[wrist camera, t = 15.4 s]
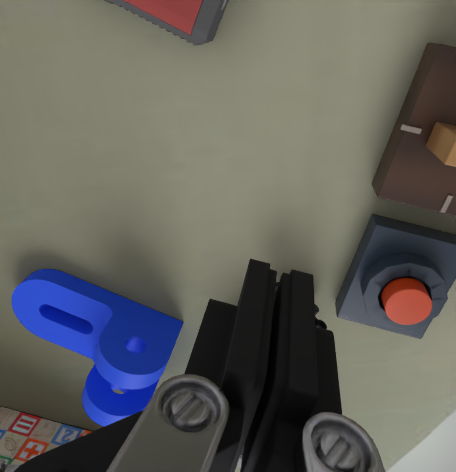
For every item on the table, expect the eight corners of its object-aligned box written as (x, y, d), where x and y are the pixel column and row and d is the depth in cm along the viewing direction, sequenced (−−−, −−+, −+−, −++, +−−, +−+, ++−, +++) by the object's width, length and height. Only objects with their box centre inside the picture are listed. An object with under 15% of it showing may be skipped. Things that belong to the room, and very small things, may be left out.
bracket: (183, 322, 44) (158, 386, 36) (161, 371, 48) (134, 438, 40) (28, 257, 44) (-33, 308, 36) (19, 312, 48) (-37, 369, 40)
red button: (390, 272, 34) (395, 284, 32) (434, 283, 33) (440, 295, 32) (374, 306, 35) (378, 318, 34) (415, 316, 35) (421, 329, 34)
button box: (372, 213, 35) (379, 234, 32) (463, 236, 35) (481, 259, 31) (335, 303, 40) (338, 329, 37) (415, 324, 40) (426, 353, 36)
